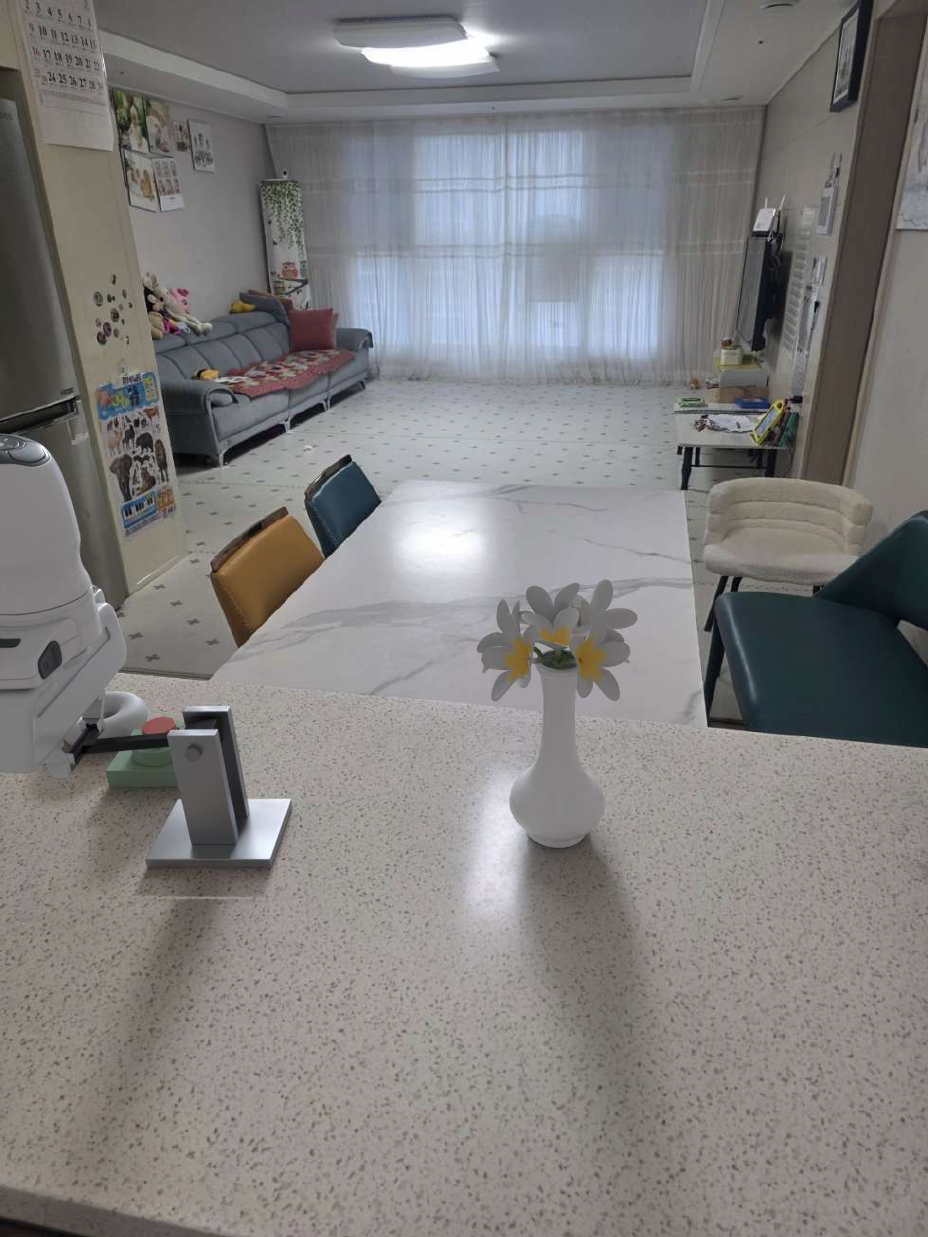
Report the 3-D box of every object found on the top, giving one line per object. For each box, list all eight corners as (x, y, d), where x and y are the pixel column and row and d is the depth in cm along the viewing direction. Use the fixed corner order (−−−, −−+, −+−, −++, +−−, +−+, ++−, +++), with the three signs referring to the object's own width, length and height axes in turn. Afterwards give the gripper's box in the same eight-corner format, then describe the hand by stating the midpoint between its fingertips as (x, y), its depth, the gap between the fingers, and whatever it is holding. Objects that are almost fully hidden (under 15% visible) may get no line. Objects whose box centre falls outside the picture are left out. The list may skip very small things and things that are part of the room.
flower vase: (635, 781, 88) (652, 565, 77) (598, 904, 73) (612, 655, 62) (519, 759, 92) (519, 550, 81) (460, 870, 77) (450, 631, 66)
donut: (168, 722, 101) (114, 700, 106) (163, 698, 100) (108, 677, 105) (99, 765, 94) (44, 740, 98) (92, 740, 92) (37, 715, 97)
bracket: (147, 869, 78) (115, 749, 72) (179, 807, 86) (153, 695, 80) (271, 869, 78) (250, 748, 72) (292, 807, 86) (275, 694, 80)
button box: (109, 787, 90) (101, 757, 88) (138, 745, 97) (130, 716, 95) (199, 787, 89) (193, 756, 88) (221, 744, 97) (216, 715, 95)
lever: (65, 774, 76) (56, 753, 75) (89, 743, 81) (80, 722, 80) (212, 761, 75) (205, 740, 74) (228, 730, 79) (221, 709, 78)
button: (139, 748, 90) (136, 734, 89) (151, 729, 93) (148, 716, 93) (171, 748, 90) (168, 734, 89) (182, 729, 93) (180, 716, 92)
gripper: (65, 576, 81) (95, 696, 87) (-61, 681, 63) (-12, 823, 69) (127, 576, 81) (153, 696, 87) (20, 682, 63) (62, 824, 69)
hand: (79, 753), depth 78 cm, fingers closed on lever, 5 cm apart
